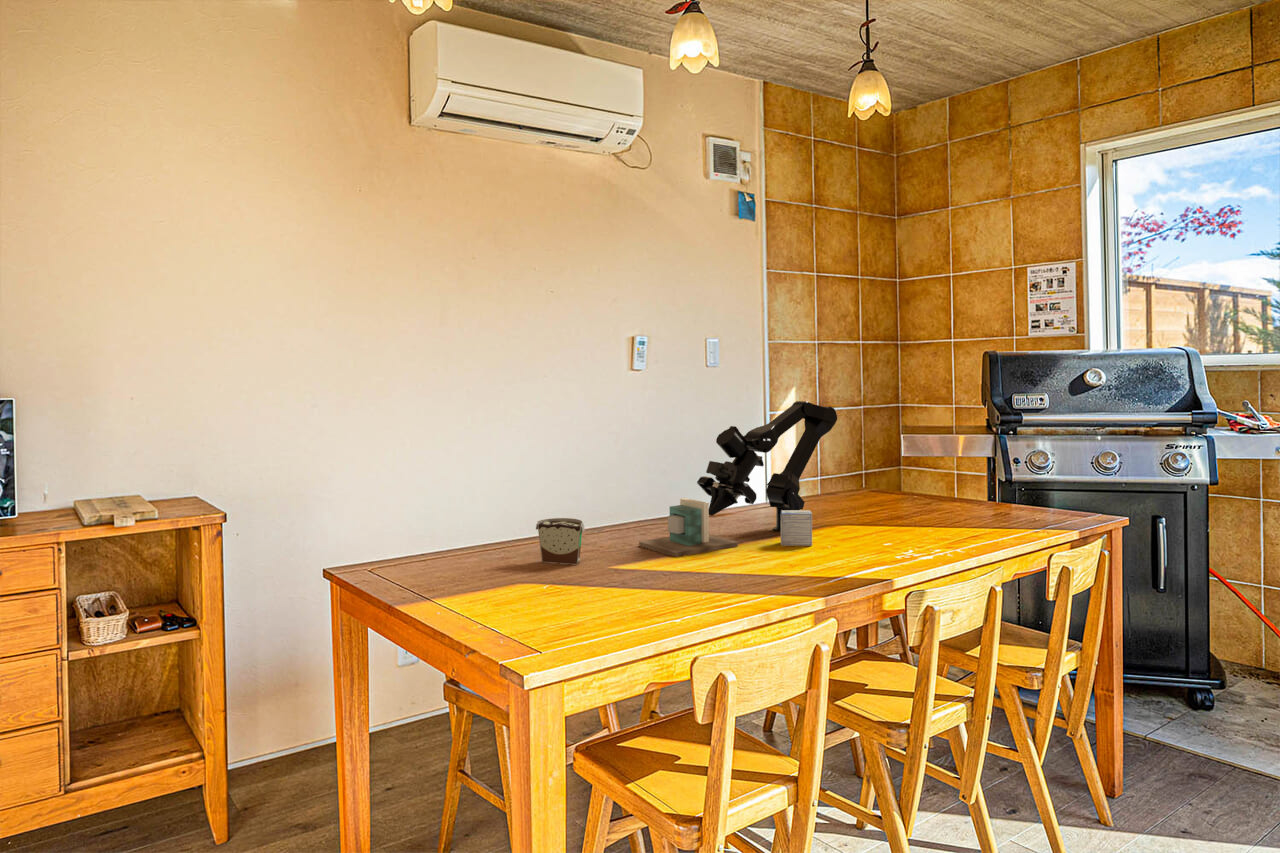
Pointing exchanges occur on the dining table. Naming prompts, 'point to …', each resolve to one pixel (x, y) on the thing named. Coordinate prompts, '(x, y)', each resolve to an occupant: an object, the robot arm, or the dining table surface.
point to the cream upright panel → (678, 521)
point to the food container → (560, 540)
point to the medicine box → (796, 528)
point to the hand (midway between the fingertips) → (709, 514)
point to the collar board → (687, 549)
